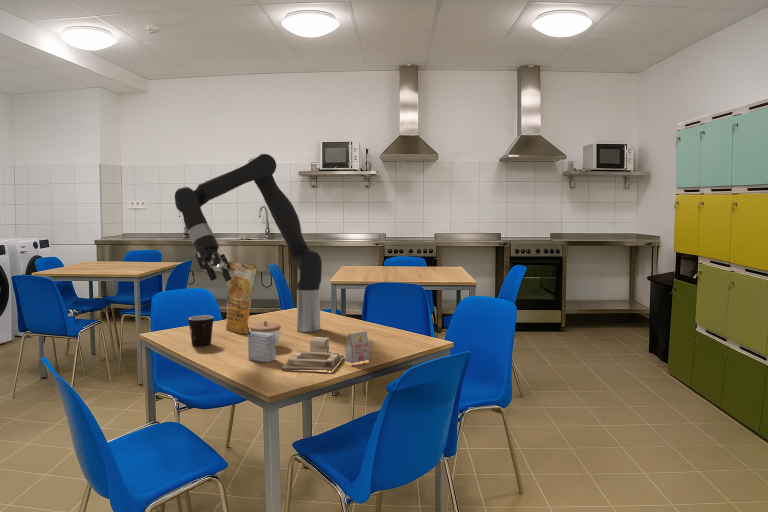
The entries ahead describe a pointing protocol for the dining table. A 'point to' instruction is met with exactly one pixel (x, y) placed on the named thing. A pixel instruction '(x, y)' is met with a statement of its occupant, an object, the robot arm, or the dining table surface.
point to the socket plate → (297, 367)
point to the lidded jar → (267, 329)
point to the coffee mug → (201, 330)
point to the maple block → (319, 345)
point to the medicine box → (261, 347)
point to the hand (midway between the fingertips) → (221, 279)
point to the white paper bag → (357, 347)
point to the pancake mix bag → (239, 296)
